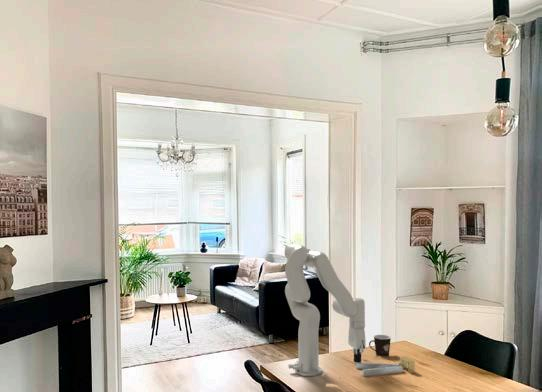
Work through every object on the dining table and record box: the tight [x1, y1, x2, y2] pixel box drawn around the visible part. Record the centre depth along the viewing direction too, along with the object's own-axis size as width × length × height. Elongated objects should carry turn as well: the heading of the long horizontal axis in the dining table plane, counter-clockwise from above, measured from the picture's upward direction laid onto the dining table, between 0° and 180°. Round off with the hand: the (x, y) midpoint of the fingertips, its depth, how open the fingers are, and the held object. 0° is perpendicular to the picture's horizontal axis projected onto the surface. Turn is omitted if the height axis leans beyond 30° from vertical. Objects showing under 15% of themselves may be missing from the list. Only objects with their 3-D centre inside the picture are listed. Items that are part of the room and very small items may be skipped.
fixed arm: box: [361, 366, 404, 377], centre depth 193 cm, size 20×1×2 cm, turn 105°
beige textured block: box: [399, 355, 416, 374], centre depth 197 cm, size 3×7×5 cm, turn 15°
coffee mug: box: [368, 334, 392, 357], centre depth 221 cm, size 12×9×10 cm
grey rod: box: [355, 361, 402, 370], centre depth 198 cm, size 21×2×3 cm, turn 83°
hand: (357, 361), depth 206 cm, fingers closed
